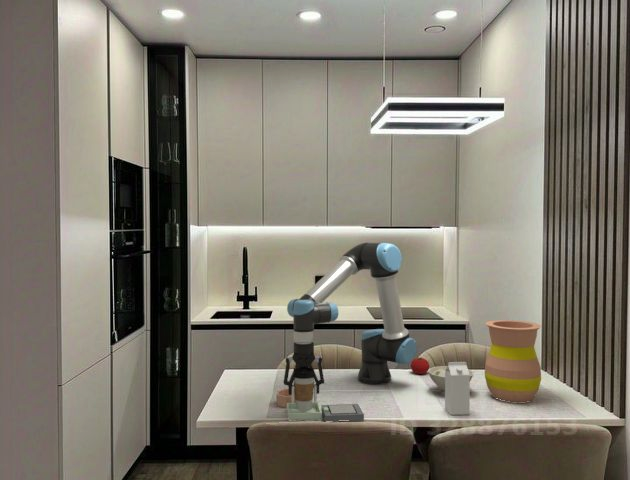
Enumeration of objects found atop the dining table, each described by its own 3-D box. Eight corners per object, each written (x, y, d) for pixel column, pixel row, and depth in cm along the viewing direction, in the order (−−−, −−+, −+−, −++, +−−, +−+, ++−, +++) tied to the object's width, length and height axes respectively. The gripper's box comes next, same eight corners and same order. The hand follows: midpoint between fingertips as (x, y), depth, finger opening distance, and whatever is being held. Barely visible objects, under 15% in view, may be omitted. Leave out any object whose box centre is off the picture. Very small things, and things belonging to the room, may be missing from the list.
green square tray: (318, 408, 215) (318, 402, 215) (322, 419, 203) (321, 412, 203) (286, 410, 213) (286, 403, 213) (288, 421, 201) (288, 413, 201)
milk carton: (444, 409, 214) (445, 360, 214) (462, 408, 215) (463, 359, 214) (450, 415, 207) (451, 364, 207) (469, 414, 208) (469, 364, 207)
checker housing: (357, 410, 213) (357, 402, 213) (363, 421, 201) (363, 412, 201) (321, 411, 212) (321, 403, 212) (325, 422, 200) (325, 414, 200)
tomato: (410, 370, 271) (410, 354, 271) (428, 371, 270) (428, 355, 270) (410, 375, 262) (410, 358, 262) (429, 376, 261) (430, 359, 261)
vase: (482, 402, 222) (483, 327, 222) (485, 387, 243) (486, 318, 242) (542, 408, 215) (542, 331, 214) (540, 392, 236) (540, 321, 235)
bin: (303, 398, 228) (303, 388, 228) (306, 407, 217) (306, 396, 216) (276, 399, 226) (276, 389, 226) (277, 408, 215) (277, 397, 215)
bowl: (466, 402, 222) (466, 377, 222) (420, 394, 233) (420, 371, 232) (479, 390, 239) (480, 367, 238) (436, 383, 249) (436, 361, 249)
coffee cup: (301, 403, 214) (301, 364, 213) (319, 407, 209) (319, 367, 209) (288, 409, 207) (287, 369, 207) (306, 413, 202) (306, 372, 202)
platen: (352, 407, 211) (352, 404, 211) (356, 415, 202) (356, 412, 202) (328, 408, 210) (328, 405, 210) (331, 416, 202) (331, 413, 201)
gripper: (329, 339, 212) (330, 398, 213) (275, 340, 210) (276, 400, 211) (332, 343, 205) (332, 404, 205) (276, 344, 203) (276, 407, 203)
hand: (304, 402), depth 208 cm, fingers closed on coffee cup, 8 cm apart
